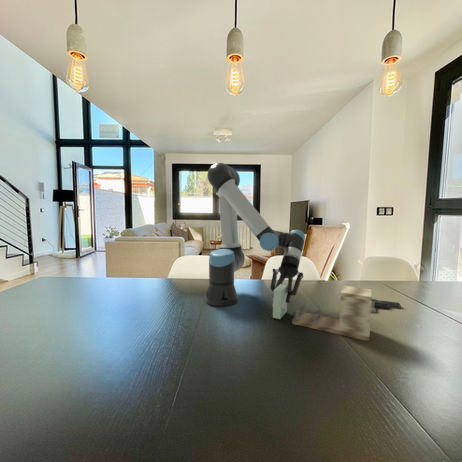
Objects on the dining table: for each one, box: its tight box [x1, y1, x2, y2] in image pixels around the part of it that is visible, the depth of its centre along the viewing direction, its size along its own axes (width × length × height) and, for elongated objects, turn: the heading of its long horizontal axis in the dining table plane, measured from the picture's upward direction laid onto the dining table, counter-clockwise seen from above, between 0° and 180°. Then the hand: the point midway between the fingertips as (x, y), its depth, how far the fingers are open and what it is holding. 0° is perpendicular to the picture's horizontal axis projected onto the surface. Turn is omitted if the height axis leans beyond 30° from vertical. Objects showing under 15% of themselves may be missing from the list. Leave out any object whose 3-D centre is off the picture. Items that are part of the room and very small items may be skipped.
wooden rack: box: [291, 285, 373, 342], centre depth 86 cm, size 25×9×15 cm, turn 61°
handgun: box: [371, 298, 402, 313], centre depth 105 cm, size 3×18×12 cm
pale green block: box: [270, 283, 288, 320], centre depth 96 cm, size 4×9×11 cm, turn 151°
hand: (278, 308), depth 94 cm, fingers closed on pale green block, 3 cm apart
